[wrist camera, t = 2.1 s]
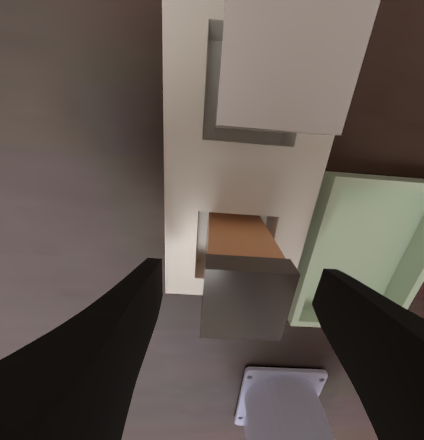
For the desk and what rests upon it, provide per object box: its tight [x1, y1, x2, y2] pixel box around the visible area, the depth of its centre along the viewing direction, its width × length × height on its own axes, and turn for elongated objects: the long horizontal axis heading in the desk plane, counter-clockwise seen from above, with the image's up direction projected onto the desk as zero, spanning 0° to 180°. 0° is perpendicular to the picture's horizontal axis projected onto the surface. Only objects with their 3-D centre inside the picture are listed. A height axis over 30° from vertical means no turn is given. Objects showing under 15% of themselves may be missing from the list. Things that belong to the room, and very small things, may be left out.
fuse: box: [215, 0, 380, 135], centre depth 8 cm, size 3×3×6 cm
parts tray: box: [288, 171, 424, 327], centre depth 14 cm, size 11×8×2 cm
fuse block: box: [162, 0, 335, 295], centre depth 12 cm, size 15×8×3 cm, turn 176°
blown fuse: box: [200, 212, 300, 341], centre depth 11 cm, size 3×3×6 cm
